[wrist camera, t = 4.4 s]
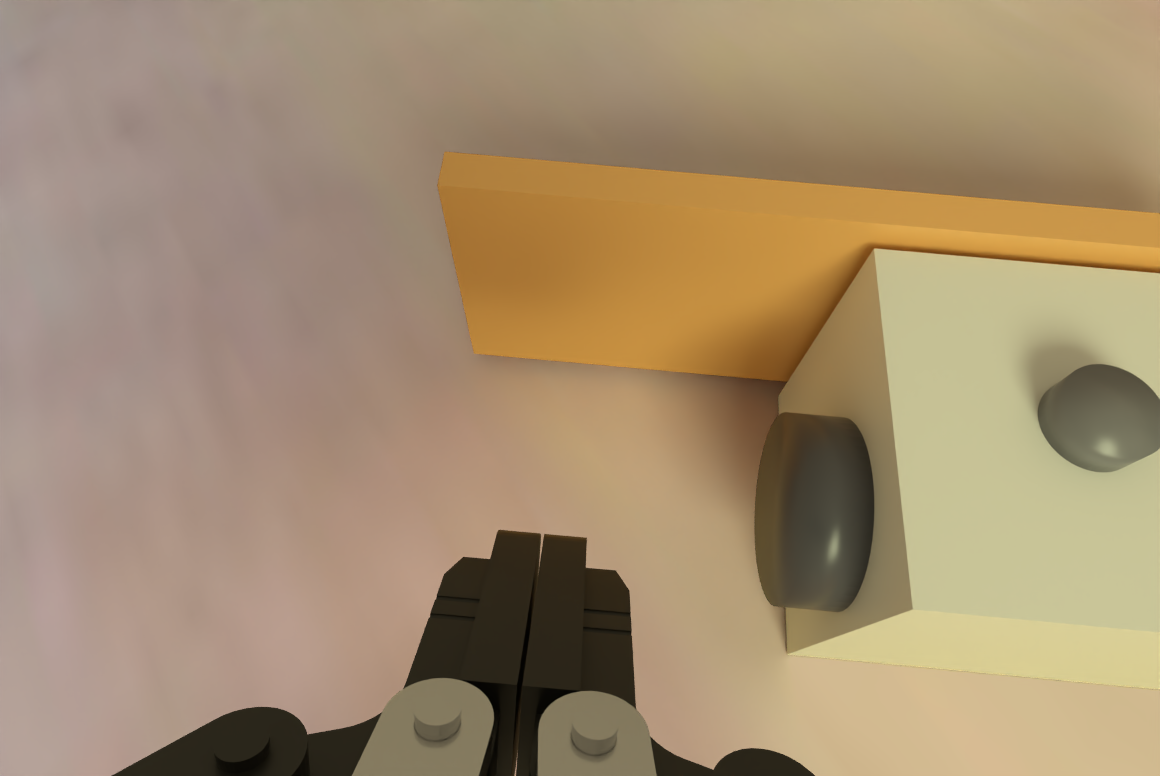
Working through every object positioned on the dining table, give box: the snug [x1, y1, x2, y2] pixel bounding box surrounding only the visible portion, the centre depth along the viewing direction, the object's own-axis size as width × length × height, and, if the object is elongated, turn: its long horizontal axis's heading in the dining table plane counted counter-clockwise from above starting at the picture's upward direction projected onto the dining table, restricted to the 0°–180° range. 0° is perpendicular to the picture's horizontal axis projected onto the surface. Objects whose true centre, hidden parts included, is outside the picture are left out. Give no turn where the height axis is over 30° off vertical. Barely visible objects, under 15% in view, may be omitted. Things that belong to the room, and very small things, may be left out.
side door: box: [437, 152, 1160, 382], centre depth 20 cm, size 26×2×8 cm, turn 85°
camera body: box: [755, 248, 1160, 690], centre depth 18 cm, size 17×8×9 cm, turn 85°
